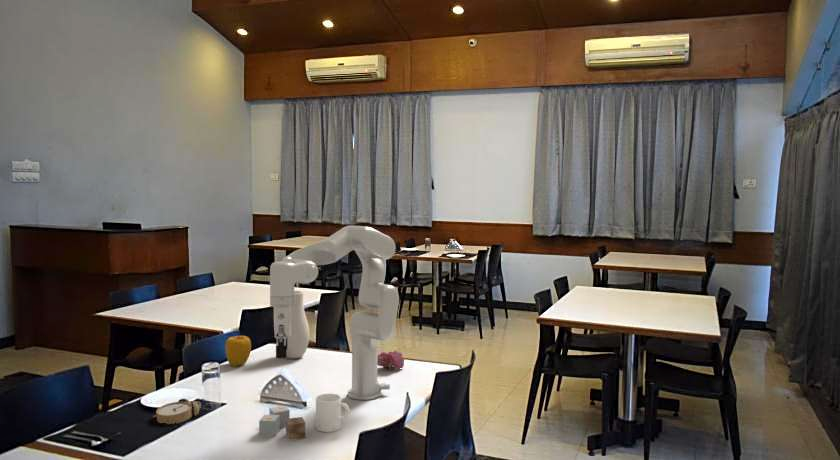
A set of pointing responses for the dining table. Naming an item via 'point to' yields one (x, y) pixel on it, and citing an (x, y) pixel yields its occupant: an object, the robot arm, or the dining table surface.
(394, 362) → the flower
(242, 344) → the apple
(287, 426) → the plain block
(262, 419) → the block one
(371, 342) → the robot arm
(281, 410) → the block two
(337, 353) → the dining table surface
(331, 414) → the mug
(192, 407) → the alarm clock
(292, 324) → the vase
